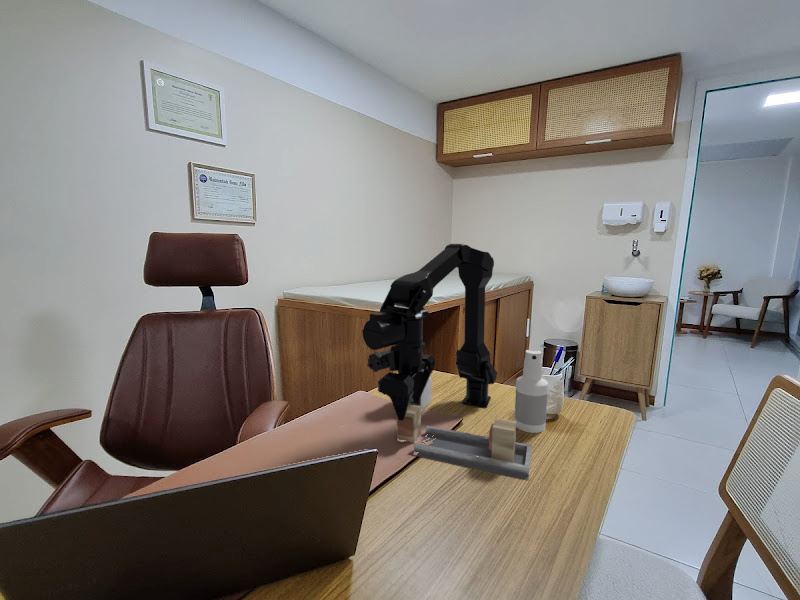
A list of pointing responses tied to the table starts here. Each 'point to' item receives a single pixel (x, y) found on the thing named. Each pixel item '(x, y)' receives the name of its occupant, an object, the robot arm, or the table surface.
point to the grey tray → (474, 458)
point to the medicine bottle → (424, 396)
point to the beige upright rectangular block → (502, 440)
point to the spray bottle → (531, 395)
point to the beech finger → (410, 424)
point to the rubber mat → (470, 449)
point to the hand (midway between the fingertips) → (408, 410)
